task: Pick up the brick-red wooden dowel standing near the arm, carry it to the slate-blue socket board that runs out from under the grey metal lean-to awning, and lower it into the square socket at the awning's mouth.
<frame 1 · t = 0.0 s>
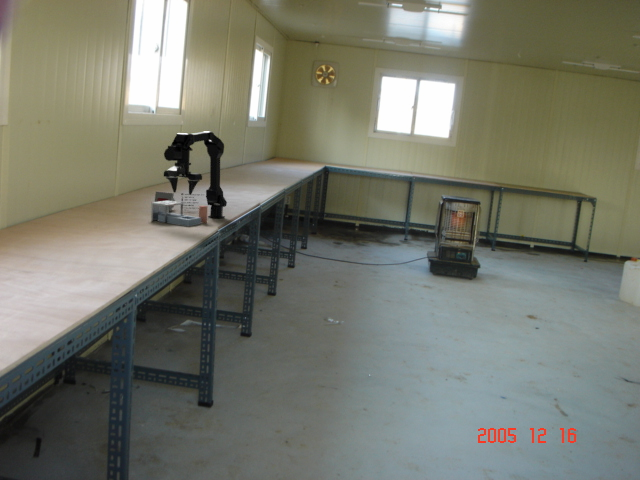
hand: (182, 193, 277), 15 cm above the workbench, fingers open, 9 cm apart
voltmeter: (178, 211, 318), on the workbench
peg: (202, 222, 288), on the workbench
socket board: (179, 222, 283), on the workbench
awning: (166, 220, 286), on the workbench
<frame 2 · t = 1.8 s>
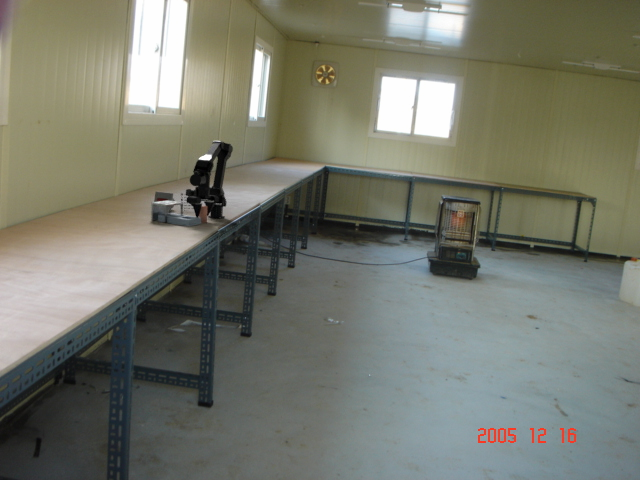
hand: (202, 216, 287), 3 cm above the workbench, fingers open, 7 cm apart
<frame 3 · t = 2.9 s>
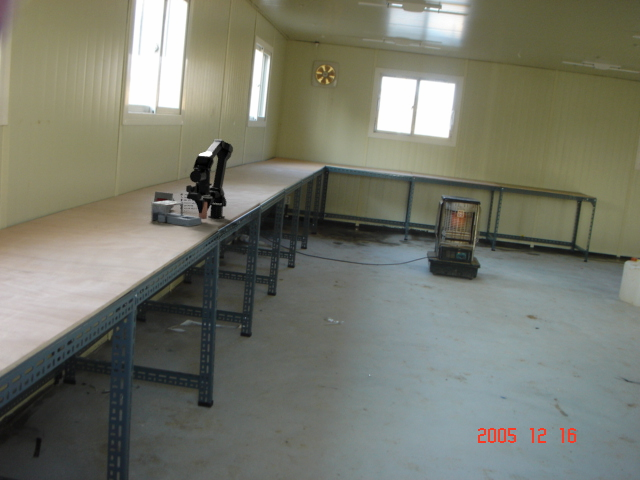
hand: (202, 212, 287), 5 cm above the workbench, fingers closed on peg, 4 cm apart
peg: (202, 218, 288), point 2 cm above the workbench, touching gripper
everything else where it was.
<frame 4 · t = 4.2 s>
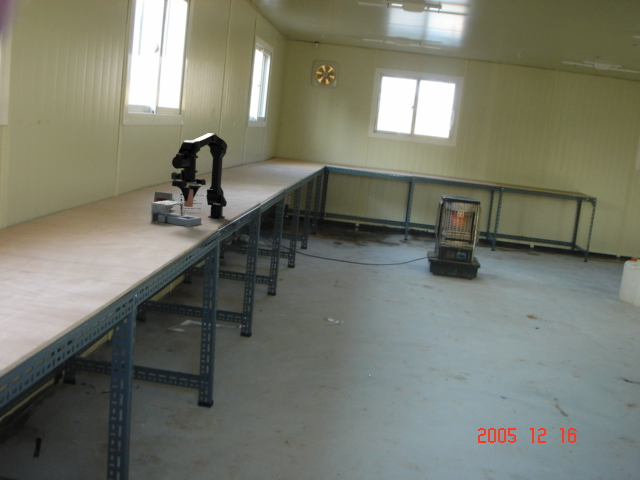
hand: (188, 200, 279), 11 cm above the workbench, fingers closed on peg, 4 cm apart
peg: (188, 206, 279), point 9 cm above the workbench, touching gripper
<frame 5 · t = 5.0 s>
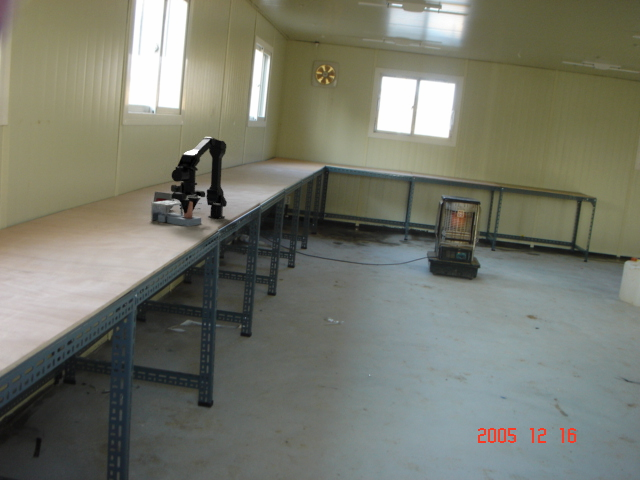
hand: (188, 212, 280), 5 cm above the workbench, fingers closed on peg, 4 cm apart
peg: (188, 218, 281), point 3 cm above the workbench, touching gripper
when the fingers open (4 cm above the workbench, at t = 5.6 s): peg stays where it is, resting in socket board.
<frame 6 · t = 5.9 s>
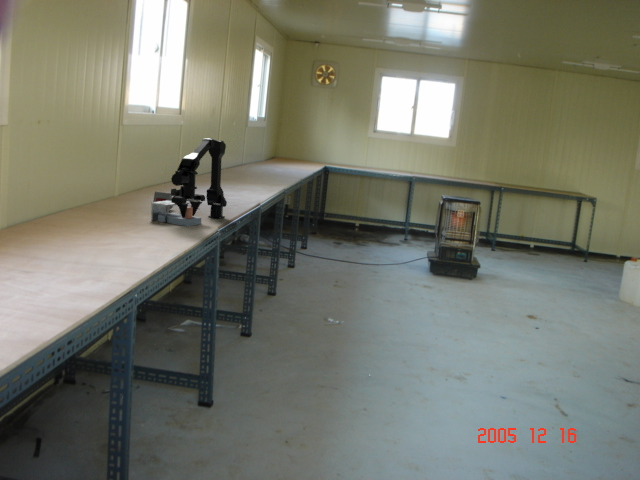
hand: (188, 216, 280), 4 cm above the workbench, fingers open, 7 cm apart
peg: (187, 223, 281), resting in socket board
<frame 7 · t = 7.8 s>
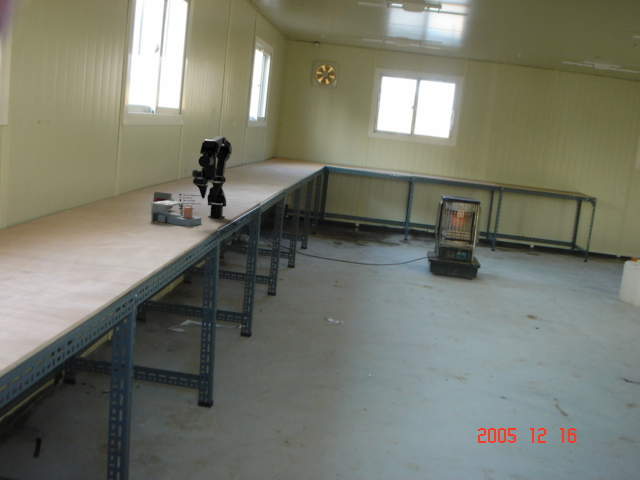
hand: (209, 197, 287), 12 cm above the workbench, fingers open, 9 cm apart
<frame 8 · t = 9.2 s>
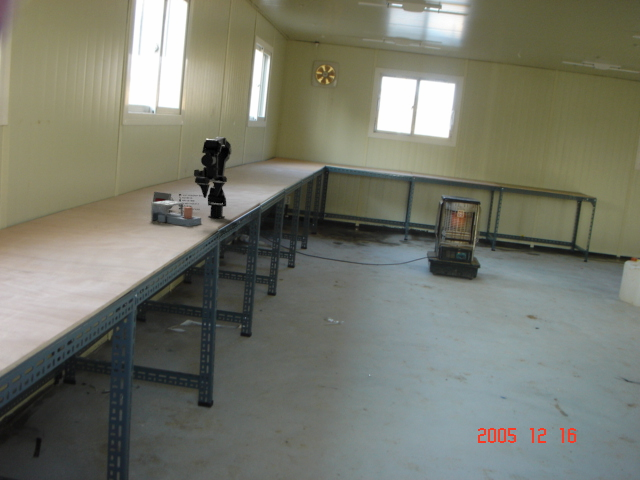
hand: (210, 197, 288), 13 cm above the workbench, fingers open, 9 cm apart
at the end: peg 0.0 cm from the target spot on the socket board, point 0.0 cm above the socket board's base; peg tilted 0°; the gripper is holding nothing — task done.
